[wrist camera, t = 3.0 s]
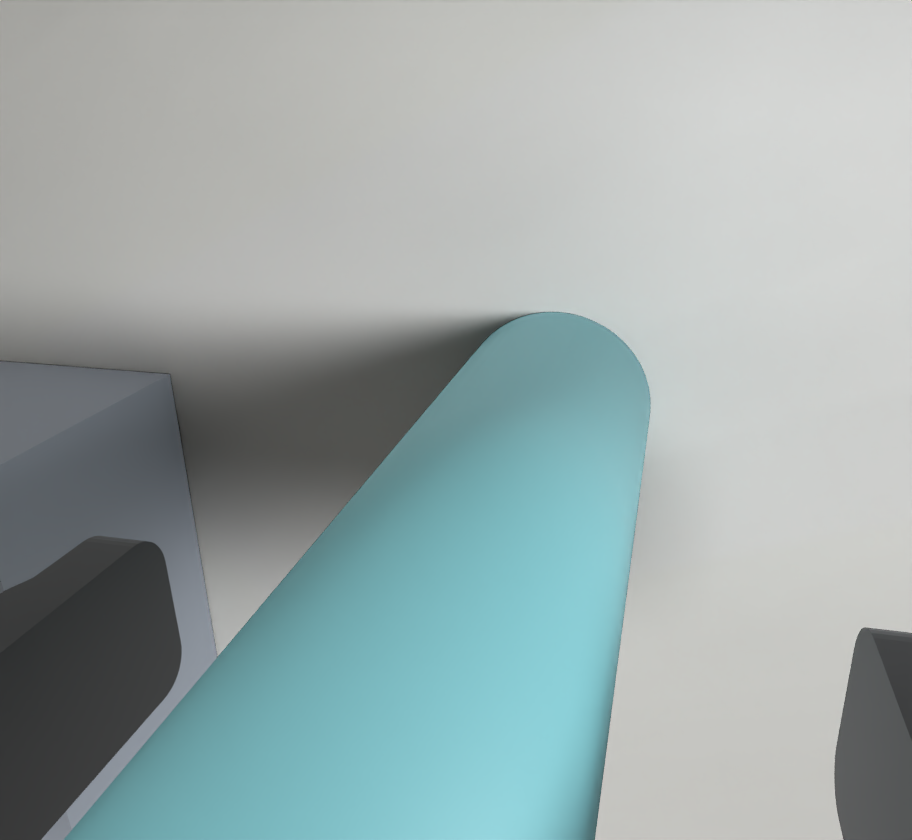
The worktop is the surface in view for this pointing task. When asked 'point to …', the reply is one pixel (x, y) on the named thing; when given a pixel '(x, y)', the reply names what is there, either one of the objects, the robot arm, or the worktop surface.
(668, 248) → the worktop surface
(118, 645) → the robot arm
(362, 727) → the peg
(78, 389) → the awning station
